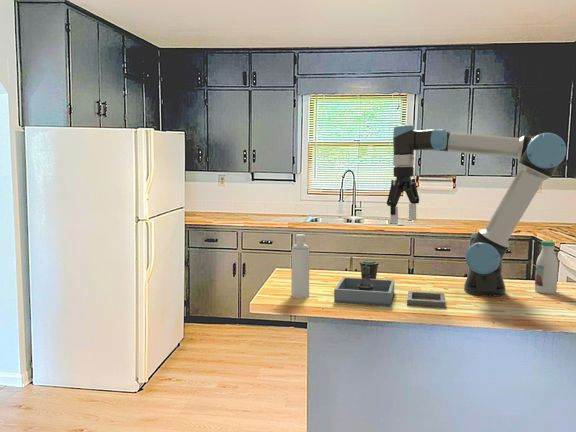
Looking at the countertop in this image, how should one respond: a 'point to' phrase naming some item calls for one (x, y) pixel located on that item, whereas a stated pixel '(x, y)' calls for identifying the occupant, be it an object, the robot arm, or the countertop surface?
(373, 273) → the coffee cup
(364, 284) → the dark grey tall piece
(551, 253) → the milk bottle
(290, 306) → the countertop surface
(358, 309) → the countertop surface
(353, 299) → the bin
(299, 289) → the white plastic bottle
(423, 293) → the collar
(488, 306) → the countertop surface
